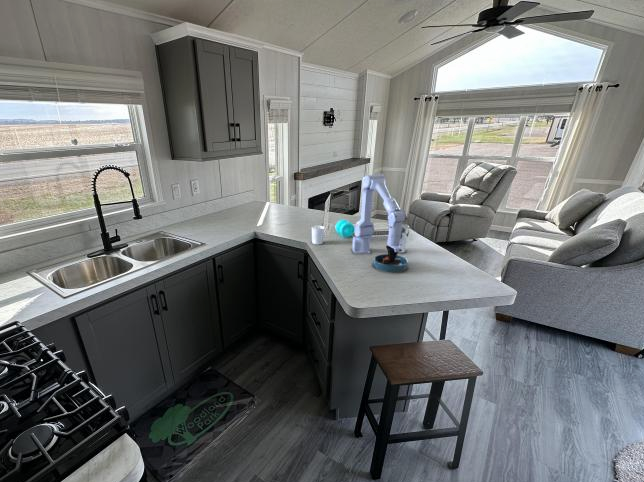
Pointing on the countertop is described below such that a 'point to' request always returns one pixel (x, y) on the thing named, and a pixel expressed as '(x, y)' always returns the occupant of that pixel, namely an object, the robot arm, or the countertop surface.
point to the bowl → (390, 267)
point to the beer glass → (404, 237)
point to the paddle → (387, 261)
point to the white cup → (317, 234)
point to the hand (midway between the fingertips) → (391, 260)
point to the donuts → (345, 228)
